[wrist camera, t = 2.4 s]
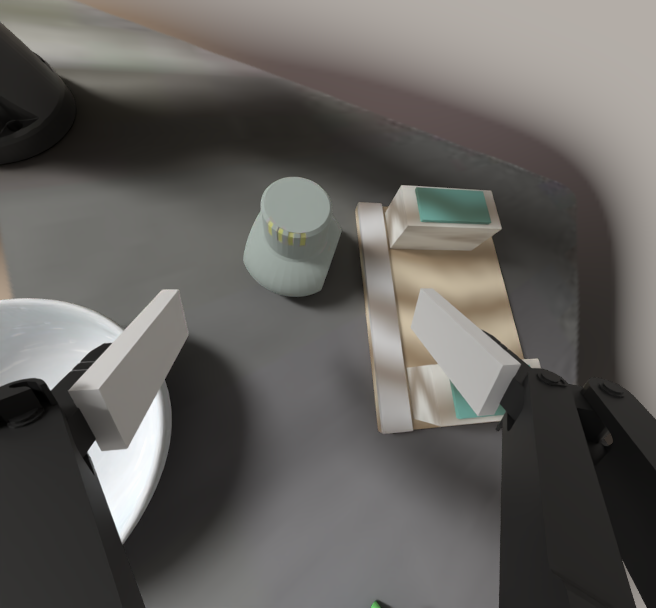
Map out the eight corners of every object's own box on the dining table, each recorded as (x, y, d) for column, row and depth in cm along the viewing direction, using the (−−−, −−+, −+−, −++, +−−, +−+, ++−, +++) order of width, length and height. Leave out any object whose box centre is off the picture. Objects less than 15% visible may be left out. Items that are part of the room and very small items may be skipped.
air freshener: (312, 313, 29) (325, 280, 20) (241, 288, 29) (218, 242, 19) (340, 233, 33) (362, 172, 23) (276, 210, 32) (273, 137, 23)
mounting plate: (355, 210, 34) (370, 172, 28) (479, 215, 37) (518, 182, 31) (378, 431, 27) (405, 445, 20) (531, 415, 29) (594, 424, 23)
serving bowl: (199, 544, 22) (162, 612, 15) (-127, 632, 18) (-363, 775, 11) (191, 306, 27) (162, 282, 21) (-60, 334, 23) (-194, 315, 17)
